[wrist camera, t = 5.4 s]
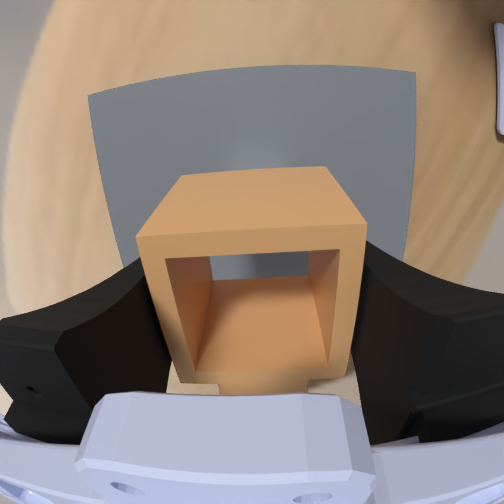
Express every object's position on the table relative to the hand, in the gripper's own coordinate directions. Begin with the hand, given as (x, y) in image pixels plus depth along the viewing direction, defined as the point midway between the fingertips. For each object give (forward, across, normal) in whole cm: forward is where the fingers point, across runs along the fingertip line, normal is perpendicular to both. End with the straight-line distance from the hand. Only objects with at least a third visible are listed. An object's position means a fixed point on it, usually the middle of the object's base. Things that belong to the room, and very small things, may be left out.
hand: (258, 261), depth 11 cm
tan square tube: (+2, 0, +1) cm, 2 cm away
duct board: (+8, 0, 0) cm, 8 cm away
